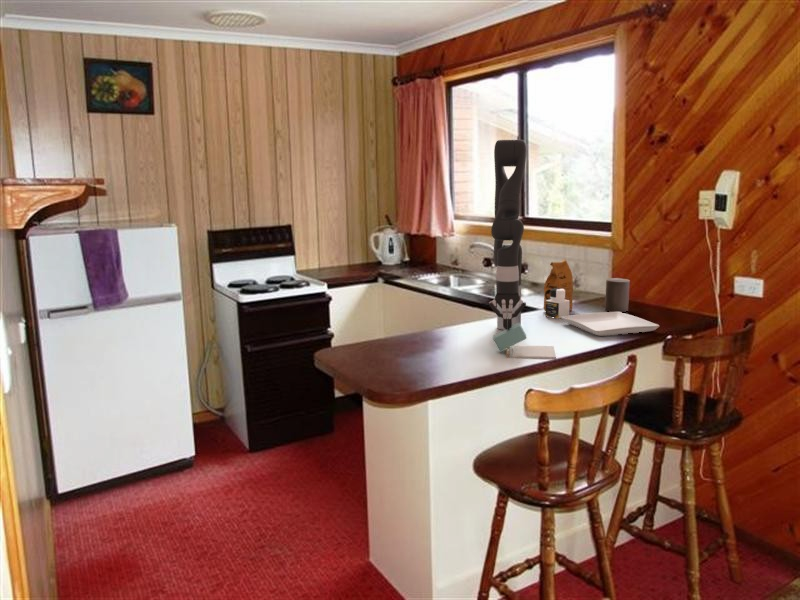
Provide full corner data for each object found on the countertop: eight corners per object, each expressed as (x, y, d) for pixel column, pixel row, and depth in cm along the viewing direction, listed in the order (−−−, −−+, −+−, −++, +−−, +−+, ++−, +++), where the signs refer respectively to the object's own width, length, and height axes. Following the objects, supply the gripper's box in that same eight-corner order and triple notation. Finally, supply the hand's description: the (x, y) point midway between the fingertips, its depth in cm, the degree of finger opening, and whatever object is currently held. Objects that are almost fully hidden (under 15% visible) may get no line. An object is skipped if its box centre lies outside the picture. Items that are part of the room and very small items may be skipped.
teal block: (493, 335, 232) (519, 322, 230) (500, 348, 232) (526, 335, 230) (492, 339, 227) (519, 325, 225) (500, 351, 228) (526, 338, 225)
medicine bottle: (545, 316, 283) (545, 288, 281) (556, 314, 288) (556, 286, 285) (558, 319, 278) (558, 290, 275) (569, 316, 282) (570, 288, 280)
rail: (507, 346, 237) (507, 341, 236) (509, 346, 236) (509, 341, 236) (506, 357, 223) (506, 351, 223) (509, 357, 223) (509, 351, 223)
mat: (512, 347, 236) (512, 345, 236) (553, 347, 234) (553, 346, 234) (512, 357, 223) (512, 356, 223) (556, 358, 220) (556, 356, 220)
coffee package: (539, 311, 294) (540, 261, 290) (557, 307, 302) (558, 258, 298) (558, 314, 286) (559, 263, 282) (575, 310, 294) (577, 260, 290)
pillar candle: (605, 312, 287) (607, 278, 285) (604, 308, 297) (605, 274, 294) (629, 313, 285) (631, 279, 282) (627, 309, 294) (629, 275, 292)
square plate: (596, 340, 244) (596, 330, 243) (559, 324, 270) (559, 315, 269) (660, 333, 251) (661, 323, 250) (618, 319, 277) (618, 310, 276)
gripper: (527, 277, 228) (526, 326, 231) (488, 277, 230) (488, 326, 233) (527, 280, 220) (527, 332, 224) (487, 280, 223) (487, 331, 226)
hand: (507, 329), depth 228 cm, fingers closed
